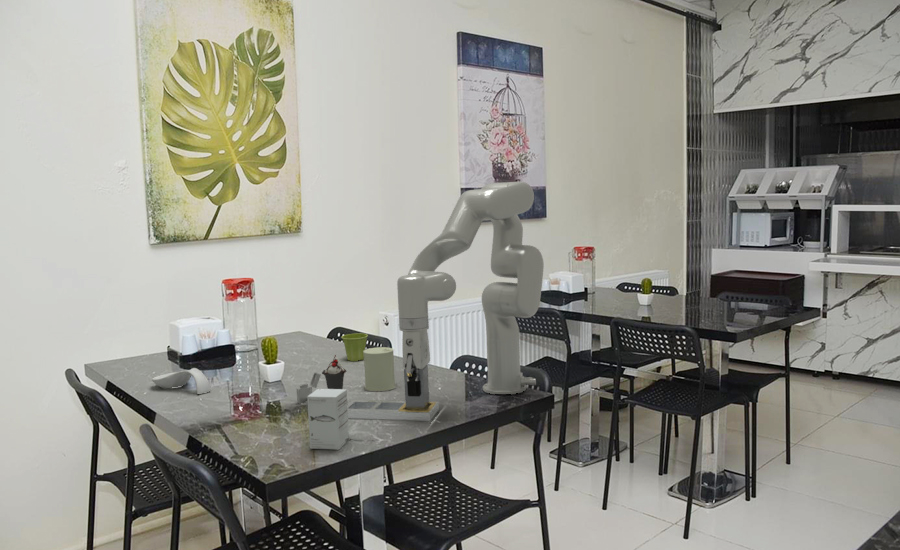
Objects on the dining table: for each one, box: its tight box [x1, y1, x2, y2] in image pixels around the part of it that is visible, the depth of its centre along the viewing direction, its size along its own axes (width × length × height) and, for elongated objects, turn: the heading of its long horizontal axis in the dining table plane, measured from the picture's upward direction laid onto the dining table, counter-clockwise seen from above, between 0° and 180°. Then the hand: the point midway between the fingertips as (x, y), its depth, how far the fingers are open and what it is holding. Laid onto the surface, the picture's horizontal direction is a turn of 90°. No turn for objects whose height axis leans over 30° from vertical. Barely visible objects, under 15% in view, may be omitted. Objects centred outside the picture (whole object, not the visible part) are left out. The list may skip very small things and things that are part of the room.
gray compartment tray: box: [347, 399, 440, 425], centre depth 190 cm, size 24×10×3 cm, turn 78°
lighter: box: [296, 371, 322, 405], centre depth 208 cm, size 7×2×8 cm, turn 126°
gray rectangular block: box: [403, 364, 430, 408], centre depth 188 cm, size 5×5×10 cm
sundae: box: [321, 354, 348, 389], centre depth 201 cm, size 7×7×15 cm
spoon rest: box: [151, 367, 212, 395], centre depth 228 cm, size 24×12×7 cm, turn 53°
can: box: [363, 346, 396, 392], centre depth 220 cm, size 9×9×12 cm
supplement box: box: [307, 388, 349, 451], centre depth 170 cm, size 7×7×13 cm
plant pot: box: [340, 332, 369, 362], centre depth 261 cm, size 9×9×9 cm
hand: (417, 392), depth 188 cm, fingers closed on gray rectangular block, 5 cm apart
